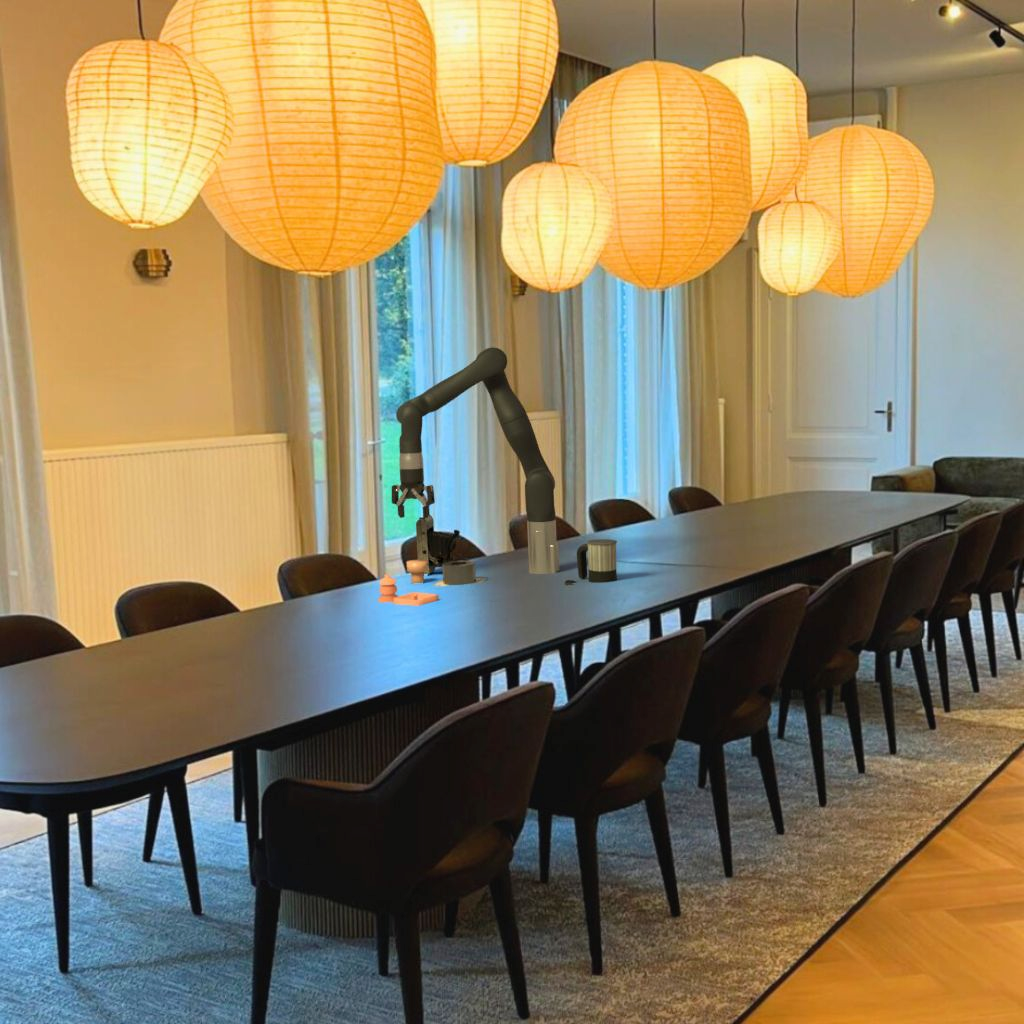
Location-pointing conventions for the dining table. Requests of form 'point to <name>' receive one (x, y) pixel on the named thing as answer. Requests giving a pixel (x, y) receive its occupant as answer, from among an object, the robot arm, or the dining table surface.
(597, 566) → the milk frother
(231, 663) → the dining table surface
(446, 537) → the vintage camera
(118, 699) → the dining table surface
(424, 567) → the tan mushroom shaped knob
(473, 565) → the squat olive cylinder
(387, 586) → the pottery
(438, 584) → the birch board
